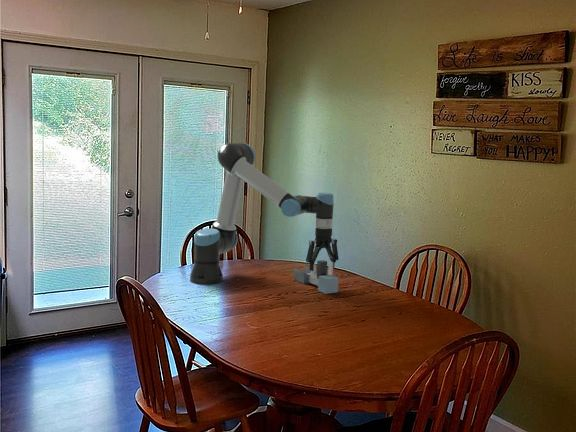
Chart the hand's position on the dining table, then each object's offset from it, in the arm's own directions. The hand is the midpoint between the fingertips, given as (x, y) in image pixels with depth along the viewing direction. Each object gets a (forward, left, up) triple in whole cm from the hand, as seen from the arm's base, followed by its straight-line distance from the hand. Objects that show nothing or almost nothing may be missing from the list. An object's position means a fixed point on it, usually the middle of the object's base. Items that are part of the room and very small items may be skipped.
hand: (321, 276), depth 268 cm
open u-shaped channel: (-14, 0, -5) cm, 15 cm away
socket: (+6, 0, -5) cm, 8 cm away
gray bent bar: (-3, 0, -4) cm, 5 cm away
